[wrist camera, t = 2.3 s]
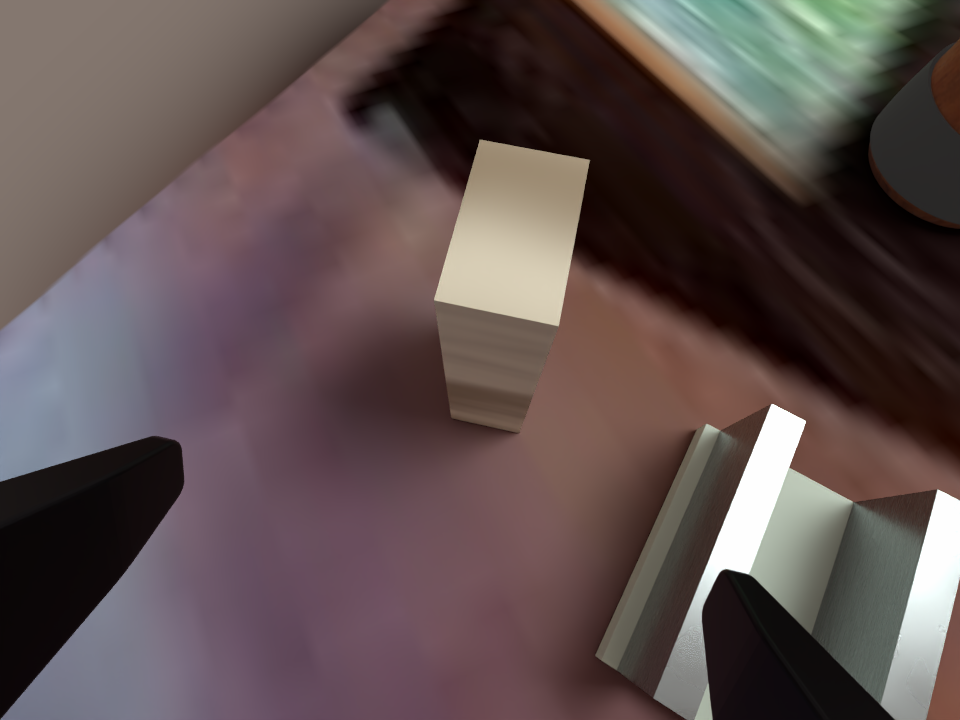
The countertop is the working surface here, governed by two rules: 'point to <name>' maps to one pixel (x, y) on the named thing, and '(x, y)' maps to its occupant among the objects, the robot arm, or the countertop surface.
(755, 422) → the grey channel bracket
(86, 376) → the countertop surface
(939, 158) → the mug
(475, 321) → the ash slab
